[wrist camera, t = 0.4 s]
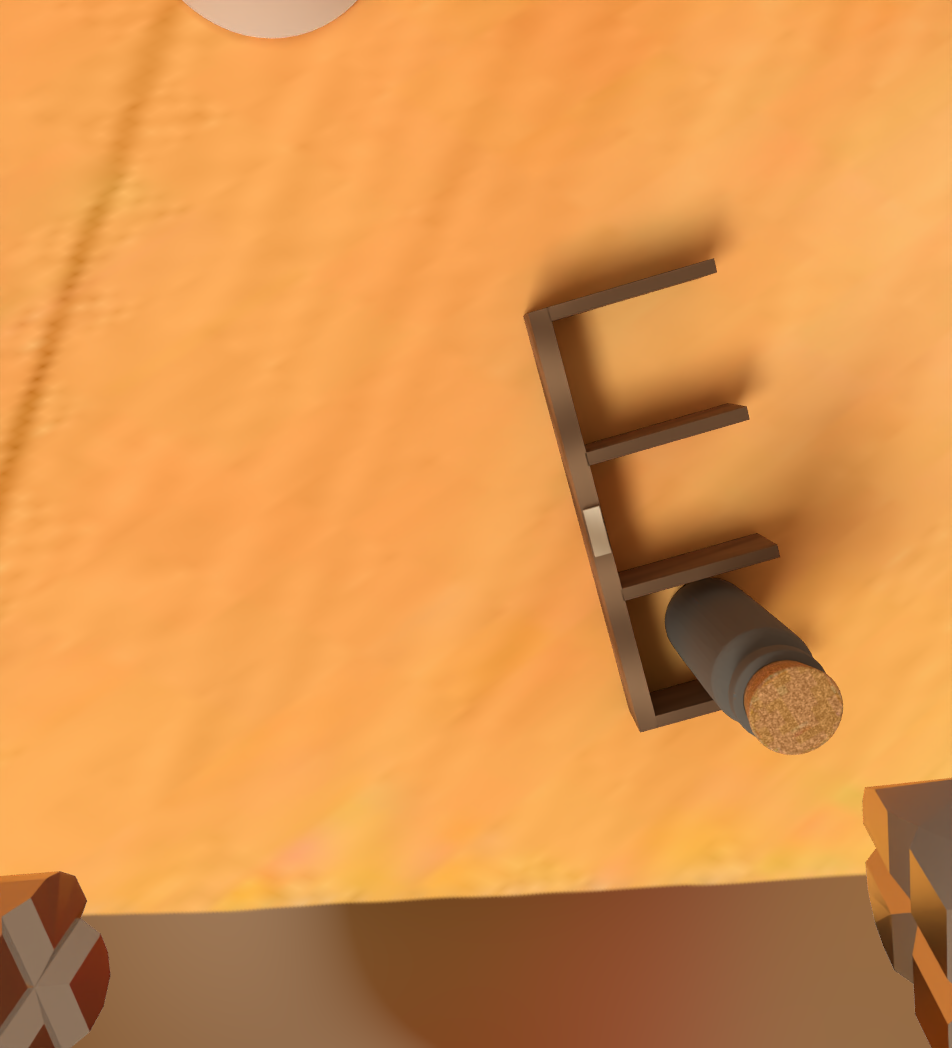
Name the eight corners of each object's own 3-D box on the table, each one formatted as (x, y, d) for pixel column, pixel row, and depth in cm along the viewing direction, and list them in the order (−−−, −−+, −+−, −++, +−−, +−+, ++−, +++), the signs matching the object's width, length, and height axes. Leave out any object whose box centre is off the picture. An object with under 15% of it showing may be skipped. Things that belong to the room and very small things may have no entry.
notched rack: (523, 316, 52) (528, 312, 48) (696, 265, 52) (715, 257, 48) (629, 709, 57) (641, 734, 53) (787, 665, 57) (810, 687, 53)
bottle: (741, 567, 55) (844, 642, 41) (757, 648, 56) (863, 750, 42) (655, 589, 56) (727, 672, 41) (673, 669, 57) (749, 778, 42)
